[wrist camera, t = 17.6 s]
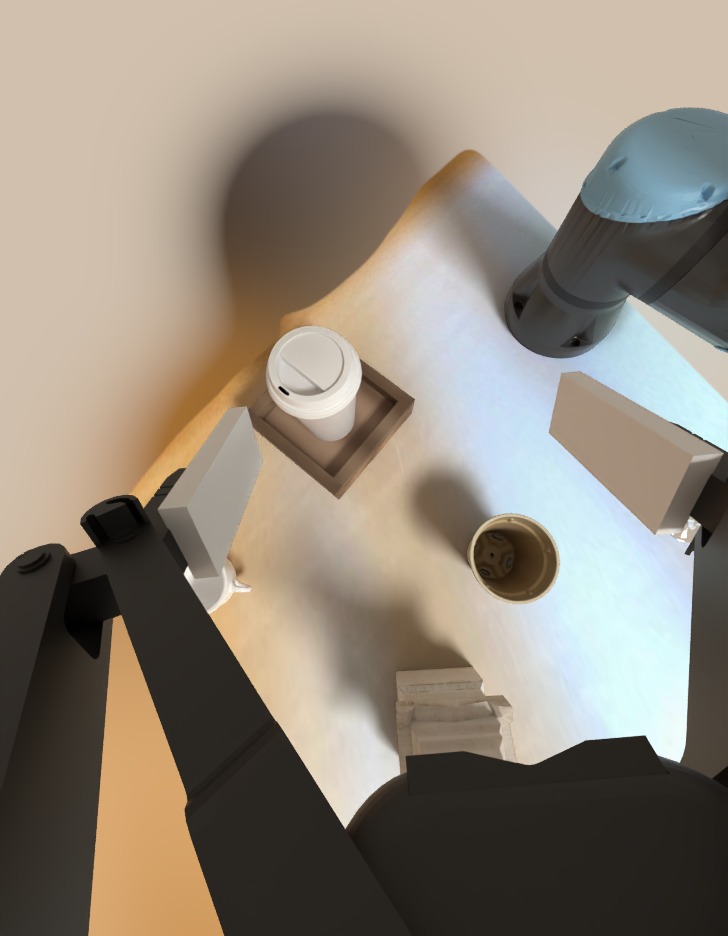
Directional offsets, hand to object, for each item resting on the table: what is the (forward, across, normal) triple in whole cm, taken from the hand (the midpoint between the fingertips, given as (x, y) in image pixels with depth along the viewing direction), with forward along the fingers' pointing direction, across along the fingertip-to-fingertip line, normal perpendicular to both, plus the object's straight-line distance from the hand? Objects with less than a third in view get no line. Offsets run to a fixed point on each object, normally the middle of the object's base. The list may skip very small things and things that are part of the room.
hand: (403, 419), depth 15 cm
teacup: (+18, -23, -30) cm, 42 cm away
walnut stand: (+33, -6, -15) cm, 36 cm away
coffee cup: (+30, -6, -13) cm, 34 cm away
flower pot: (+18, +13, -30) cm, 37 cm away
